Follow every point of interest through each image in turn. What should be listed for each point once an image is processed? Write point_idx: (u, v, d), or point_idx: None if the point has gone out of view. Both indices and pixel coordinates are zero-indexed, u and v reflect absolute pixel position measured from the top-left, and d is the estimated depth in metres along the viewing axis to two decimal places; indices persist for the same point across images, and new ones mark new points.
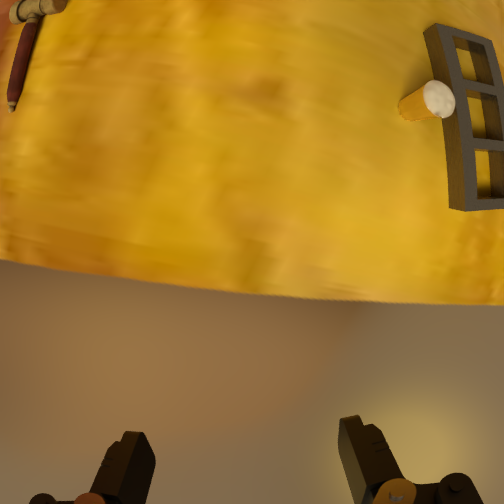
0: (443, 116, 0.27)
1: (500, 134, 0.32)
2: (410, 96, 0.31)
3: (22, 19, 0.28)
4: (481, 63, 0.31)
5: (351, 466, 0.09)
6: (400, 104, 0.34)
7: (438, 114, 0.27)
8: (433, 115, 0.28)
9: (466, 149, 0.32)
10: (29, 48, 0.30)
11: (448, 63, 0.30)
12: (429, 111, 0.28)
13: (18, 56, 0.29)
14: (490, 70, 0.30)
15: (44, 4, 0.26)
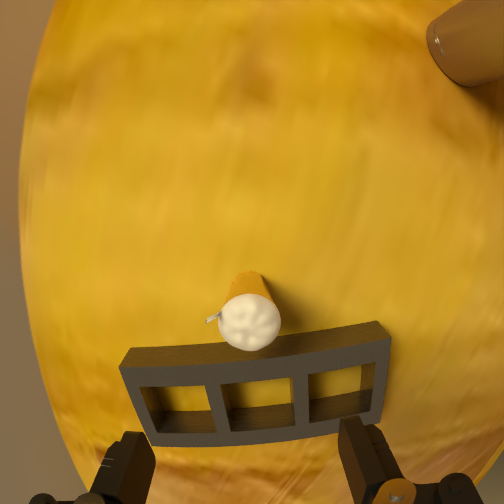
0: (219, 327, 0.22)
1: (240, 428, 0.30)
2: (259, 283, 0.26)
3: None
4: (342, 406, 0.32)
5: (351, 466, 0.09)
6: (252, 273, 0.29)
7: (220, 318, 0.22)
8: None
9: (199, 372, 0.28)
10: None
11: (327, 351, 0.28)
12: (225, 304, 0.23)
13: None
14: (332, 417, 0.30)
15: None
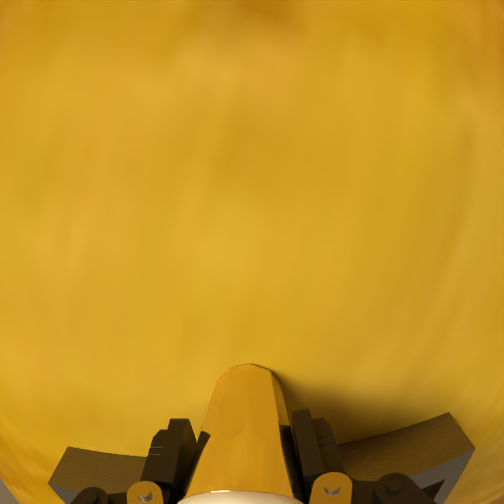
0: None
1: None
2: (267, 415, 0.11)
3: None
4: None
5: (298, 457, 0.10)
6: (255, 373, 0.14)
7: None
8: (177, 500, 0.07)
9: None
10: None
11: None
12: (183, 495, 0.07)
13: None
14: None
15: None
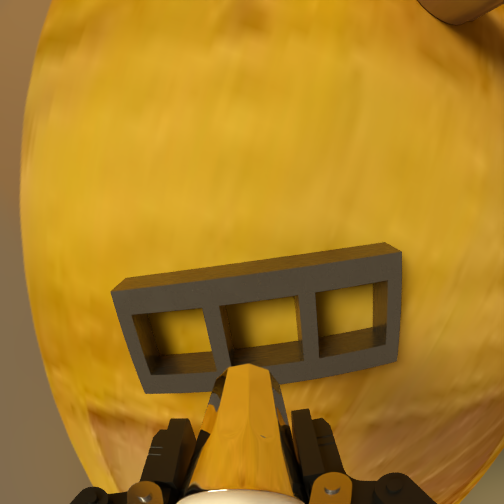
0: None
1: None
2: (267, 414, 0.11)
3: None
4: (355, 341, 0.30)
5: (298, 457, 0.10)
6: (254, 372, 0.14)
7: None
8: (176, 499, 0.07)
9: (196, 291, 0.27)
10: None
11: (334, 264, 0.27)
12: (183, 494, 0.07)
13: None
14: (344, 352, 0.29)
15: None
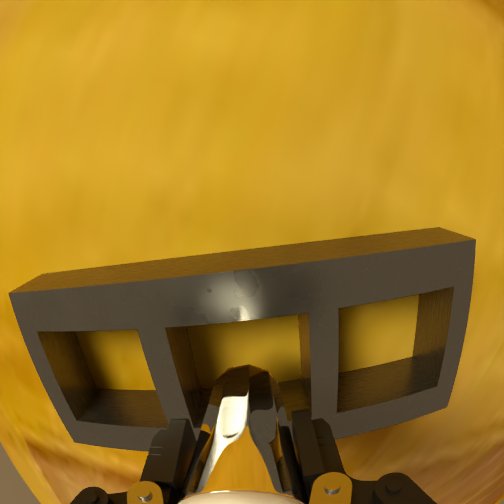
0: None
1: None
2: (267, 415, 0.11)
3: None
4: (390, 381, 0.18)
5: (298, 457, 0.10)
6: (253, 373, 0.14)
7: None
8: (177, 500, 0.07)
9: (125, 300, 0.14)
10: None
11: (374, 257, 0.14)
12: (183, 495, 0.07)
13: None
14: (376, 401, 0.16)
15: None
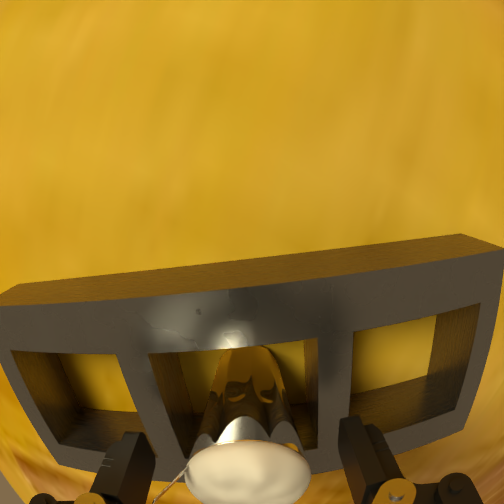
0: (188, 486, 0.09)
1: None
2: (267, 383, 0.13)
3: None
4: (404, 404, 0.15)
5: (351, 466, 0.09)
6: (255, 350, 0.16)
7: (188, 476, 0.09)
8: (189, 457, 0.09)
9: (101, 320, 0.12)
10: None
11: (397, 272, 0.11)
12: (196, 450, 0.09)
13: None
14: (389, 429, 0.14)
15: None
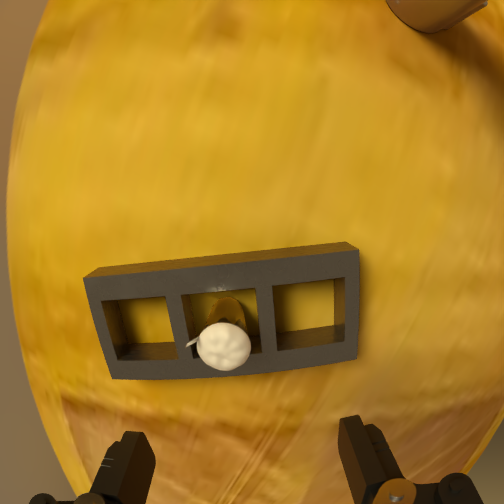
0: (198, 350, 0.25)
1: None
2: (235, 310, 0.29)
3: None
4: (314, 337, 0.32)
5: (351, 466, 0.09)
6: (230, 299, 0.32)
7: (199, 342, 0.25)
8: None
9: (160, 280, 0.28)
10: None
11: (290, 259, 0.28)
12: (203, 330, 0.26)
13: None
14: (302, 346, 0.31)
15: None
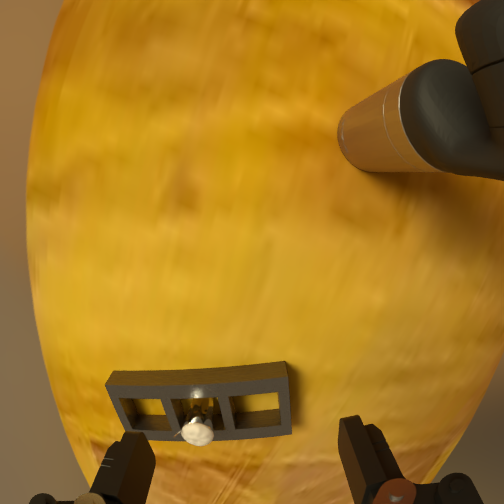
0: (182, 435, 0.37)
1: None
2: (205, 407, 0.41)
3: None
4: (262, 419, 0.44)
5: (351, 466, 0.09)
6: None
7: (182, 432, 0.37)
8: (182, 427, 0.38)
9: (156, 390, 0.40)
10: None
11: (239, 382, 0.40)
12: (184, 425, 0.37)
13: None
14: (252, 427, 0.42)
15: None
